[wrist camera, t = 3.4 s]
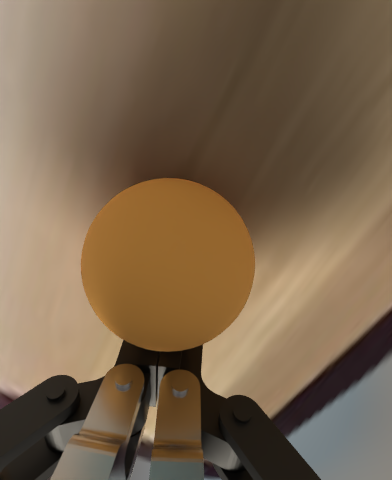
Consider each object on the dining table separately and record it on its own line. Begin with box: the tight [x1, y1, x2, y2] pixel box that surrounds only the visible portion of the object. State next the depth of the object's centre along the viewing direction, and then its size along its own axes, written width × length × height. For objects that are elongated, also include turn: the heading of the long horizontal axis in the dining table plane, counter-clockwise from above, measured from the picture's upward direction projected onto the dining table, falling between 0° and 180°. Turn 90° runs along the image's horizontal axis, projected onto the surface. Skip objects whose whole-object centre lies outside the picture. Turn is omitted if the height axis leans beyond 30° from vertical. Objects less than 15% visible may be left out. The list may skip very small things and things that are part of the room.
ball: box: [81, 178, 255, 352], centre depth 10 cm, size 5×5×5 cm
